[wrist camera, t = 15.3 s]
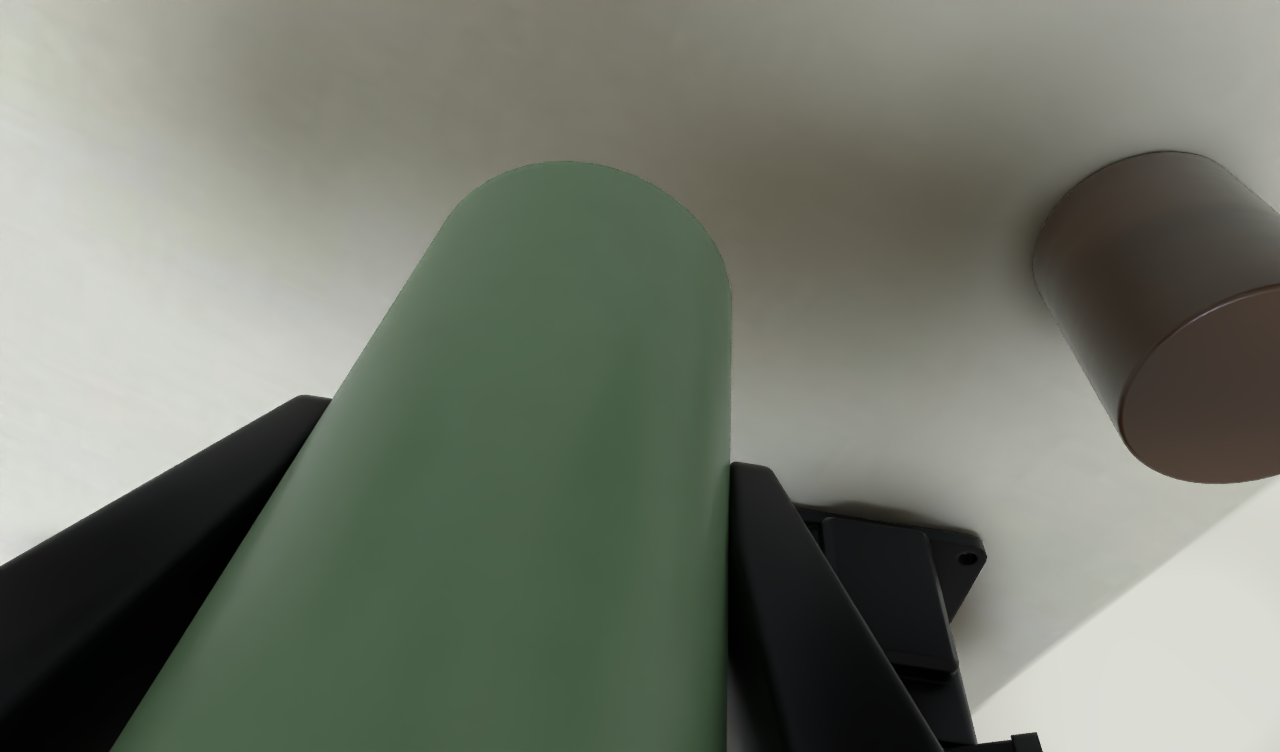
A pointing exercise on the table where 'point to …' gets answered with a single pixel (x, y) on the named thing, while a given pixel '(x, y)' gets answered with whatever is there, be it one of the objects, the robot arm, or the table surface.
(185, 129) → the table surface
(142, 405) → the table surface
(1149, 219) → the walnut post
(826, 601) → the robot arm
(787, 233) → the table surface
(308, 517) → the green peg
